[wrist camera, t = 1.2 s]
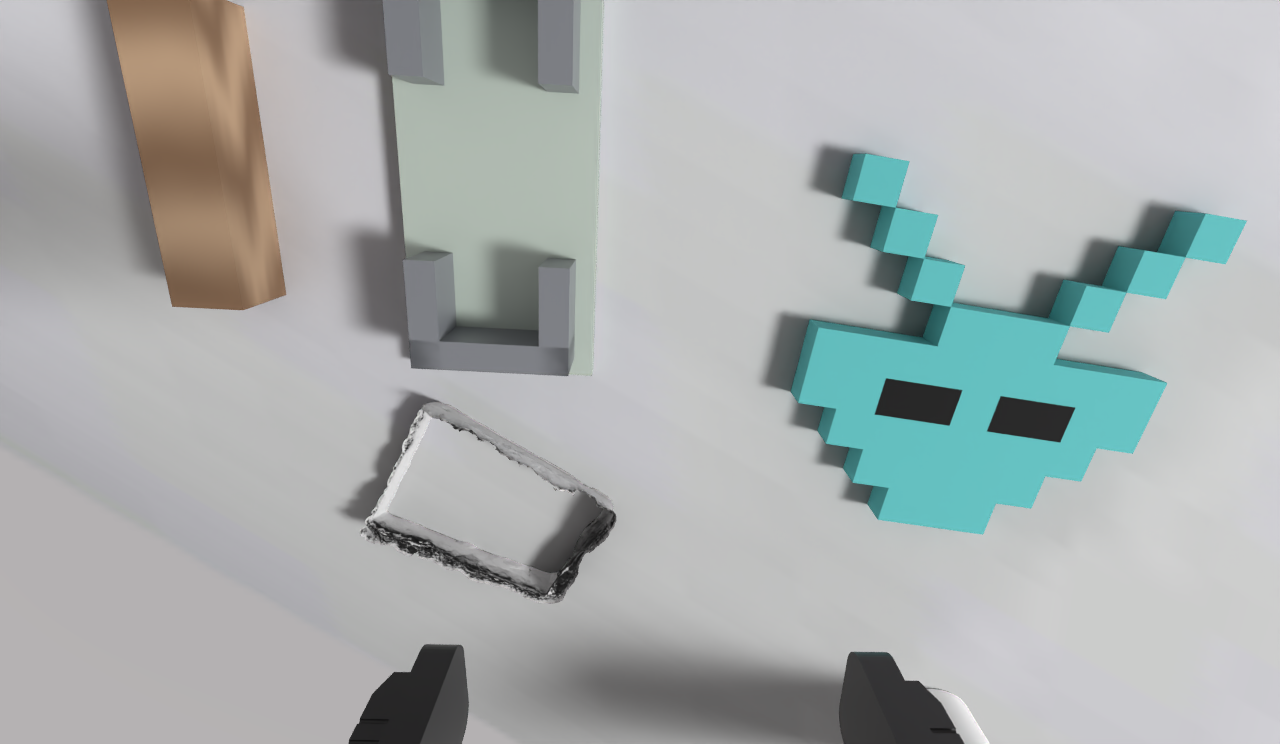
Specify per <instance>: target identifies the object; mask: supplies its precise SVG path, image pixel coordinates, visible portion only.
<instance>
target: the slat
mask: <svg viewBox="0 0 1280 744" xmlns="http://www.w3.org/2000/svg"><path fill="white" fill-rule="evenodd" d="M107 4H108V9H109V13H110V18H111V23H112V27H113V32H114V37H115V41H116V46H117V51H118V55H119V60H120V65H121V69H122V74H123V79H124V83H125V88H126V93H127V98H128V102H129V107H130V112H131V116H132V121H133V126H134V130H135V135H136V140H137V144H138V149H139V154H140V158H141V163H142V168H143V172H144V177H145V182H146V186H147V191H148V196H149V200H150V205H151V210H152V214H153V219H154V224H155V228H156V233H157V238H158V242H159V247H160V252H161V256H162V261H163V266H164V270H165V275H166V280H167V284H168V289H169V294H170V298H171V303H172V307H190V308H210V309H229V310H245V309H248V308H251V307H254V306H256V305H259V304H262V303H265V302H267V301H270V300H273V299H276V298H279V297H281V296H284V295H286V290H285V283H284V276H283V270H282V263H281V256H280V249H279V243H278V236H277V229H276V222H275V216H274V209H273V202H272V196H271V189H270V182H269V175H268V169H267V162H266V155H265V148H264V142H263V135H262V128H261V122H260V115H259V108H258V101H257V95H256V88H255V81H254V74H253V68H252V61H251V54H250V48H249V41H248V34H247V27H246V21H245V14H244V7H242V6H239V5H237V4H234V3H232V2H229V1H227V0H107Z"/></svg>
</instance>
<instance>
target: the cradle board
mask: <svg viewBox="0 0 1280 744" xmlns="http://www.w3.org/2000/svg"><path fill="white" fill-rule="evenodd" d="M440 5H441V25H442V45H443V65H444V85H445V86H440V85H424V84H412V83H410V82H407V81H404V80H401V79H399V78H396V77H393V76H392V83H393V96H394V109H395V122H396V135H397V149H398V162H399V175H400V188H401V201H402V214H403V227H404V240H405V253H406V258H408V257H411V256H414V255H416V254H419V253H421V252H424V251H428V252H447V253H453V265H454V285H455V305H456V325H457V326H463V327H482V328H501V329H520V330H539V266H540V265H541V264H542V263H543V262H544V261H545V260H546V259H547V258H558V259H576V291H575V346H574V360H573V363H572V366H571V369H570V372H569V375H585V376H592V372H593V351H594V317H595V283H596V249H597V215H598V181H599V147H600V112H601V78H602V44H603V10H604V0H581V15H580V71H579V94H575V93H558V92H548V91H546V90H545V89H544V88H543V87H542V86H540V85H539V84H538V0H440Z"/></svg>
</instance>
